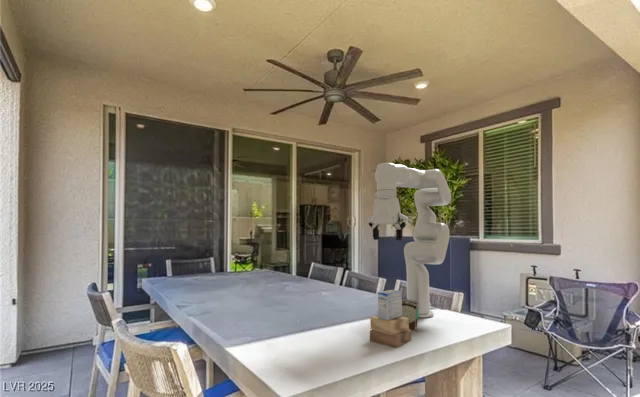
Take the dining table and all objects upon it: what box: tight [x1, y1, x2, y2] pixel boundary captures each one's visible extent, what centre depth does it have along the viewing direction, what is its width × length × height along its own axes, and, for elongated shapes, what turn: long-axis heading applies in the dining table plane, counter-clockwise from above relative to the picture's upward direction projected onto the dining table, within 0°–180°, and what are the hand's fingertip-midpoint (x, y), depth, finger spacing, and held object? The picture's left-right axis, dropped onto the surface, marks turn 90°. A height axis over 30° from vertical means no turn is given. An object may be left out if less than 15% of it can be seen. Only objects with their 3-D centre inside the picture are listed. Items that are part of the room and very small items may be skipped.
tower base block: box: [369, 329, 412, 349], centre depth 121 cm, size 10×10×4 cm
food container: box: [402, 298, 420, 332], centre depth 137 cm, size 12×6×10 cm, turn 47°
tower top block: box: [369, 314, 409, 335], centre depth 121 cm, size 9×9×4 cm
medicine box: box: [377, 289, 403, 320], centre depth 122 cm, size 8×4×9 cm, turn 132°
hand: (387, 239), depth 137 cm, fingers open, 9 cm apart
